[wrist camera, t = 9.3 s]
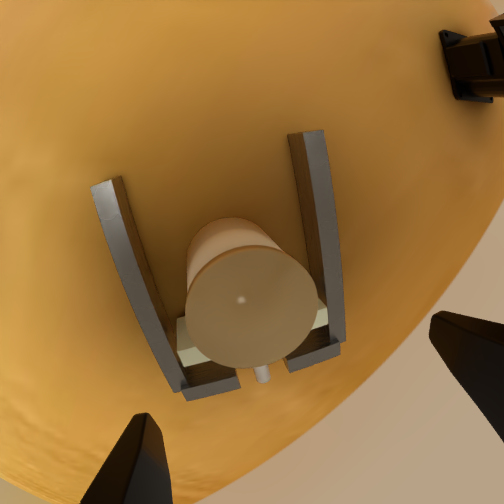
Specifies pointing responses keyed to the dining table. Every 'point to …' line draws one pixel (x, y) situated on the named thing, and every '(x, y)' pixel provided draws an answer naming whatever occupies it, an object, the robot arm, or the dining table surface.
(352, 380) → the dining table surface
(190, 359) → the pusher
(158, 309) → the grey u-shaped frame
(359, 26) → the dining table surface
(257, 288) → the jar
